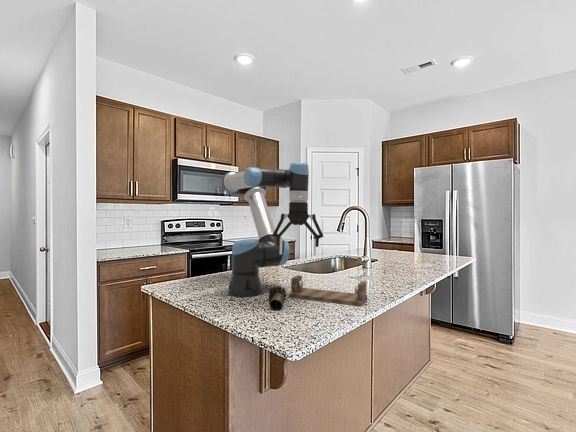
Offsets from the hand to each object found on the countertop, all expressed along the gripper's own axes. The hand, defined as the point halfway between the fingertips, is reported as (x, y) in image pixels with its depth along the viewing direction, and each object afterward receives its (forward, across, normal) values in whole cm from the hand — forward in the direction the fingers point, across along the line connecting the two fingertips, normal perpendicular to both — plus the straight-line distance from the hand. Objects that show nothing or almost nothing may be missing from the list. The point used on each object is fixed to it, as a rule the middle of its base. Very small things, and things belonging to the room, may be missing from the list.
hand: (297, 254), depth 130 cm
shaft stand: (+19, +13, +5) cm, 23 cm away
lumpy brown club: (+19, -8, -4) cm, 21 cm away
